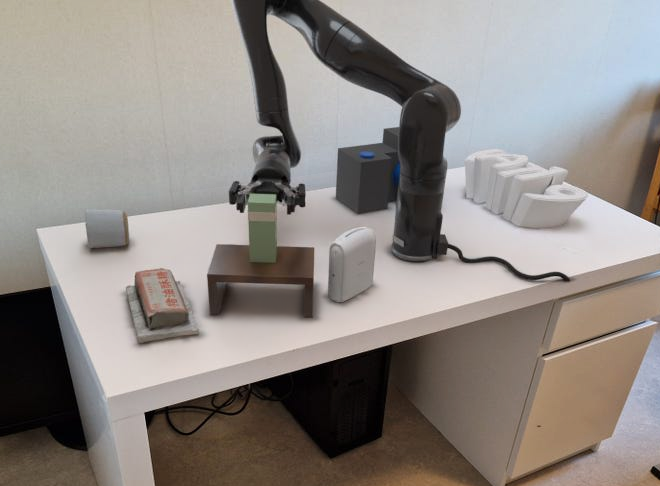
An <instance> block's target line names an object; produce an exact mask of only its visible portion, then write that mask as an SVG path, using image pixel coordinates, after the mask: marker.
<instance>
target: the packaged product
mask: <svg viewBox="0 0 660 486" xmlns="http://www.w3.org/2000/svg"><path fill="white" fill-rule="evenodd" d="M125 292H126V295H127V300H128V305H129V308H130V314H131V318H132V322H133V326H134V330H135V335H136V337H137V339H138V342H139V344H141V343H142V344H143V343H147V342H153V341H158V340H163V339H170V338H175V337H181V336H188V335H189V336H190V335H199V332H200V331H199V326H198V324H197V323H198V322H197V320H196V319H195V315H194V313H193V310H192V308H191V305H190V302H189V300H188V299H187V296H186V293H185V290H184V288H183V285H182V282H181V280H176V279H175V277H174V274H173V272H172V271H171V270H170V269H167V268H163V267H159V268H153V269H145V270H138V271H135V272H134V285H131V284H130V285H127V286H125Z"/></svg>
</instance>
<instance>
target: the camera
mask: <svg viewBox="0 0 660 486" xmlns="http://www.w3.org/2000/svg"><path fill="white" fill-rule="evenodd" d="M398 140H399V126H395V127H387V128H383V132H382V142H378V143H369V144H368V143H367V144H361V145H356V146H355V145H353V146H345V147H339V148H337V158H336V159H337V160H336V182H335V199H336V200H337V201H338V202H339V203H341V204H343V205H344V206H345V207H347V208H349V209H350V210H351V211H352V212H354V213H355V214H356V215H361V214H366V213H367V214H368V213H372V212H377V211H384V210H388V208H389V207H388V206H389V205H388V204H389V203H392V202H397V193H398V183H399V173H400V161H399V158H398Z"/></svg>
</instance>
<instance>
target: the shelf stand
mask: <svg viewBox="0 0 660 486" xmlns="http://www.w3.org/2000/svg"><path fill="white" fill-rule="evenodd" d="M206 280H207V292H208V294H207V295H208V305H209V306H208V307H209V315H210V316H219V315H220V311H221V307H222V305H223V299H224V295H225V292H226V288H227V284H228V283H229V284H233V283H234V284H259V285H260V284H261V285H262V284H263V285H293V286H304V296H303V297H304V298H303V299H304V300H303V301H304V303H303V318H304V319H305V318H307V319H313V317H314V316H313V315H314V314H313V313H314V286H315V285H314V283H315V246H289V245H288V246H285V245H277V255H276V262H275V263H264V262H250V252H249V244H227V243H225V244H223V243H222V244H221V243H216V245H215V248H214V251H213V254H212V257H211V261H210V263H209V267H208V270H207V272H206Z"/></svg>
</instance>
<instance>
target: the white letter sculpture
mask: <svg viewBox="0 0 660 486" xmlns="http://www.w3.org/2000/svg"><path fill="white" fill-rule="evenodd" d="M464 172H465V190H466V191H465V192H466V199H473V203H476V204H478V205H480V204H484V203H485V209H486V210H488V211H491V213H493V214H495V215H501V214H502V218H503V219H504V220H506V221H509V222H510V223H512V224H513V225H515V226H517V227H519V228H520V227H523V228H532V229H534V228H535V229H543V228H544V229H546V228H554V227H559V226H562V225H563V224H564V223H565V222H567V220H568V219H569V218H570V217H571V216H572V215H573V214H574V213H575V211H576V210H577V209H578V208H579V207H580V206H581V205H582V204H583V203H584V202H585V201H586V200H587V199H588V197H589V194H588V192H587V191H586V190H584V189H582V188H580V187H577V186H574V185H569V184H564V181H565V180H566V178H567V176H568V174H569V171H568V169H565V168H563V167H559V166H555V165H554V166H551V167H549V170H548V169H546V168H544V167H542V166H539V165H537V164H536V163H533V162H530V161H529V156H527V155H524V154H518V153H508V152H506V151H505V150H503V149H501V148H490V149H483V150H479V151H476V152H473V153H472V154H470V155H468V156H467V157H466V158H465V160H464Z"/></svg>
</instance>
